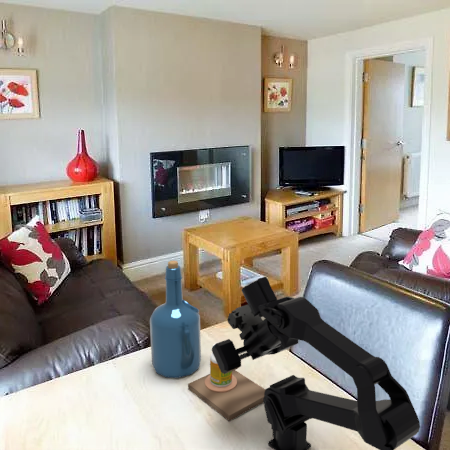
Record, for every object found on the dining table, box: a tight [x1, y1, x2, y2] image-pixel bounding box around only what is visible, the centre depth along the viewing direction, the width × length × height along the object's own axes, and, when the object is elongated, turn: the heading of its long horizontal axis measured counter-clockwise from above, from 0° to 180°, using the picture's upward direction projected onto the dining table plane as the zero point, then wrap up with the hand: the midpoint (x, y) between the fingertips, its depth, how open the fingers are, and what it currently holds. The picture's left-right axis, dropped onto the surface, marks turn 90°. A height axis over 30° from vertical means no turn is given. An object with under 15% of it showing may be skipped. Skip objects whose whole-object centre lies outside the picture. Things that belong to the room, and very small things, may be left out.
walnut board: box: [187, 369, 266, 422], centre depth 113 cm, size 16×13×2 cm
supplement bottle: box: [209, 343, 232, 387], centre depth 114 cm, size 5×5×10 cm
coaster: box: [205, 375, 237, 392], centre depth 115 cm, size 8×8×1 cm
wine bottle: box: [149, 260, 202, 379], centre depth 122 cm, size 14×13×30 cm
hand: (237, 359), depth 107 cm, fingers open, 9 cm apart
